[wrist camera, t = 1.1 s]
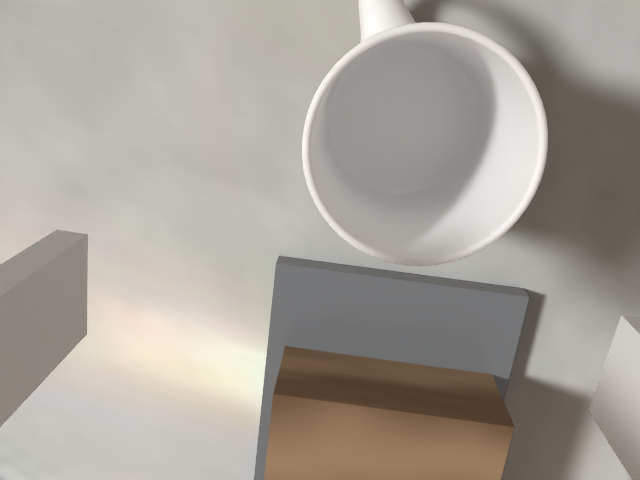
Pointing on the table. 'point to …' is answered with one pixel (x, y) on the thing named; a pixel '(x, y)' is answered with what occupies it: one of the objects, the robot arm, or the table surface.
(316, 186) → the mug
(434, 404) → the walnut block
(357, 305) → the slate tile
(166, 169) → the table surface
